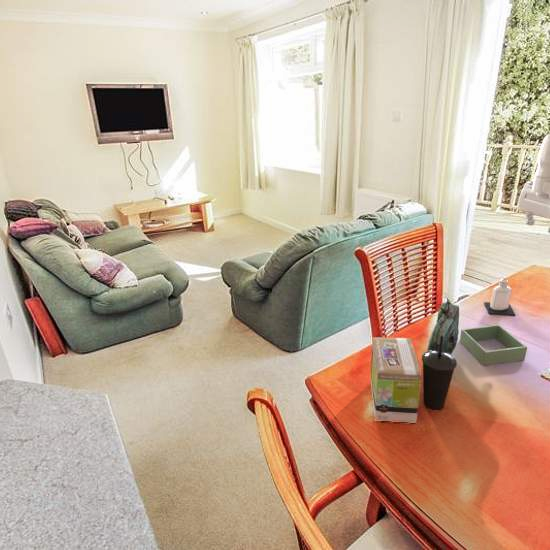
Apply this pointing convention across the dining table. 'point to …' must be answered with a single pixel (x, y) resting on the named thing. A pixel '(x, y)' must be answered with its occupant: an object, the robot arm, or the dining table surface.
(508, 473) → the dining table surface
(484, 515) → the dining table surface
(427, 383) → the drinking cup
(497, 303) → the eye dropper bottle
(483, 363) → the crate
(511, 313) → the coaster
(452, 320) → the dark green backpack
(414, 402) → the tea box
